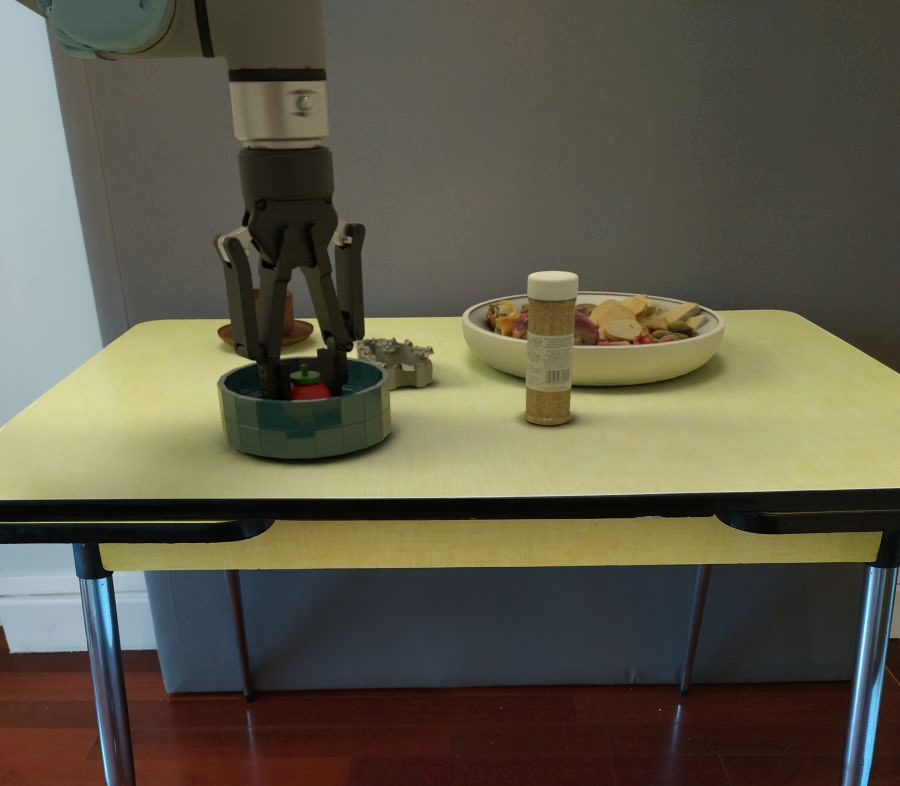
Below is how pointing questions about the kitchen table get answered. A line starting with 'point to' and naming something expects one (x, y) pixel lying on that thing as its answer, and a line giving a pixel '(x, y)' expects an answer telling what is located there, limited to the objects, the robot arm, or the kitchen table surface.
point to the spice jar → (550, 346)
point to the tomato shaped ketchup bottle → (308, 385)
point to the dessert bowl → (305, 413)
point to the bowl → (603, 337)
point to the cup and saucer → (291, 328)
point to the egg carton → (398, 360)
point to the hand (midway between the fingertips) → (309, 426)
